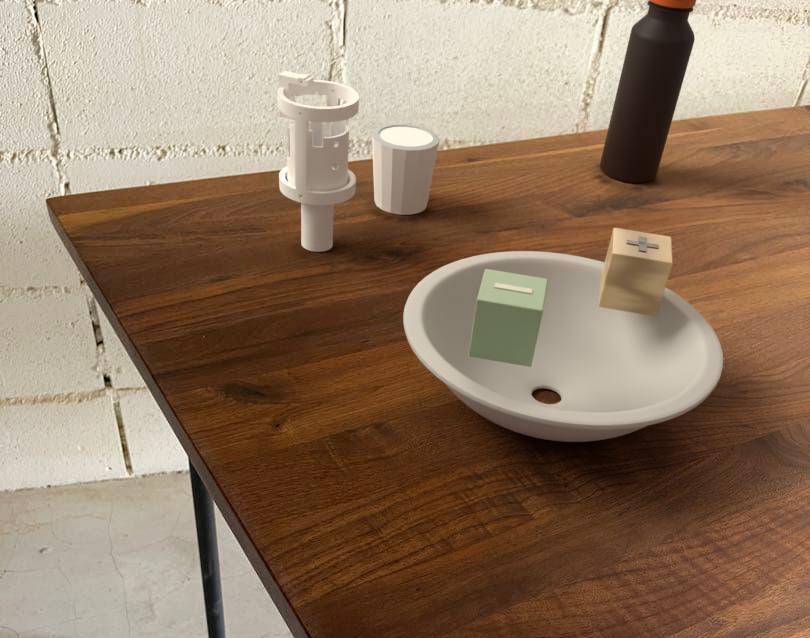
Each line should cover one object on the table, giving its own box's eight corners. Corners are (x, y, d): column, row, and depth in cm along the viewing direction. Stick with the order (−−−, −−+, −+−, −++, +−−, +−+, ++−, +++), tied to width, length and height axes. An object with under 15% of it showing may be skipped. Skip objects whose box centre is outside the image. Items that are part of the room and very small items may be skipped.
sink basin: (552, 294, 83) (567, 227, 78) (758, 431, 70) (790, 360, 65) (338, 366, 72) (340, 292, 67) (536, 544, 59) (556, 469, 54)
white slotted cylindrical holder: (300, 221, 89) (299, 60, 79) (364, 238, 88) (372, 76, 77) (267, 250, 85) (262, 82, 74) (334, 268, 83) (338, 100, 73)
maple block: (655, 289, 72) (671, 235, 68) (655, 317, 68) (673, 262, 65) (600, 279, 72) (613, 226, 69) (598, 307, 69) (612, 252, 66)
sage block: (536, 334, 65) (548, 277, 62) (531, 367, 62) (543, 309, 59) (476, 324, 66) (485, 267, 62) (467, 356, 62) (476, 298, 59)
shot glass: (433, 219, 92) (440, 151, 87) (367, 215, 92) (371, 146, 87) (431, 191, 97) (438, 125, 92) (369, 186, 97) (372, 120, 92)
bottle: (602, 181, 103) (650, -17, 88) (595, 157, 107) (639, -34, 93) (660, 186, 103) (716, -10, 89) (651, 163, 108) (703, -27, 94)
